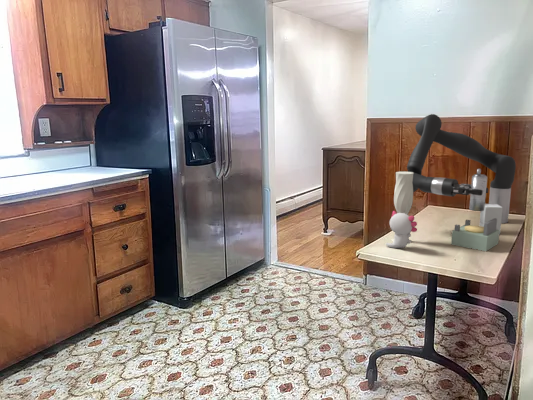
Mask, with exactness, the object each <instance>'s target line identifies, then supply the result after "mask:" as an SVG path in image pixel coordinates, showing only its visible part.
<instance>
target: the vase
mask: <svg viewBox="0 0 533 400" xmlns="http://www.w3.org/2000/svg"><path fill="white" fill-rule="evenodd" d="M412 181H413V172H408V171H396V172H395V185H394V194H393V204H394V205H393V206H394V208H395V210H396V211H395V212H396V213H405V214H407V215H409V212H410V211H411V209H412V205H413V201H414V192H413V184H412ZM409 240H410V241H411V243H412V240H411V239H410V238H409ZM390 241H392V243H393V242H394V237H393V238H391V240H390Z"/></svg>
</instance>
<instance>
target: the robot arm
mask: <svg viewBox="0 0 533 400" xmlns="http://www.w3.org/2000/svg"><path fill="white" fill-rule="evenodd" d="M442 124H443V123H442V120H441V118H440V116H439V115H437V114H434V113H431V114H428V115H426V116H425V117H423V118H422V119H420V120H418V122H417V123H416V125H415V131H416V133H417V134H418V135H419V136H420V138H419V140H418V142H417V144H416V146H415V147H414V148H413V151H412V152H411V154H410V156H409V159H408V162H407V165H406V169H407V172H413V181H412V184H413V193H415V192H416V191H417V190H418V189H419V190H420V191H422V192H423V193H428V194H433V195H434V194H435V195H438V196H444V197H445V196H446V197H455V196H456V195H461V196H471V195H472V194H473V195H482V193H483V190H479V189H473V190H472V188H471V185H472V183H471V184H470V183H460V184H459V181H458V179H455V178H448V177H433V176H425V175H422V173H423V172H422V171H423V168H424V167H425V166H424V165H425V162H426V160H427V156H428V154H429V152H430V150H431V147H432V145H433V143H437V144H439V145H441V146H443V147H445V148H447V149H450V150H451V151H453V152H455V153H456V154H459V155H461V156H463V157H464V158H467V159H469V160H472V161H475V162H478V163H480V164H481V165H483V166H484V167H486V168H487V169H489V170H491V172H493V173H495V177H494V179H493V180H491V181H490V186H489V187H490V188H488V187H486V194H487V193H489V199H488V204H498V205H499V206H501V207H502V218H501V224H506V223H508V222H509V215H510V204H511V196H512V195H511V192H512V185H513V183H514V180H515V174H516V167H517V166H516V160H515V159H514V158H513V156H511V155H510V156H509V155H506V154H505V155H504V154H501V153H497V152H494V151H492V150H490V149H488V148H485V146H484V145H482V143H480V142H479V141H478V140H476V139H475V138H472V137H471V136H468V135H467V134H464V133H459V132H453V131H448V130H447V131H445V130H444V129H441V128H442Z"/></svg>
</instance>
